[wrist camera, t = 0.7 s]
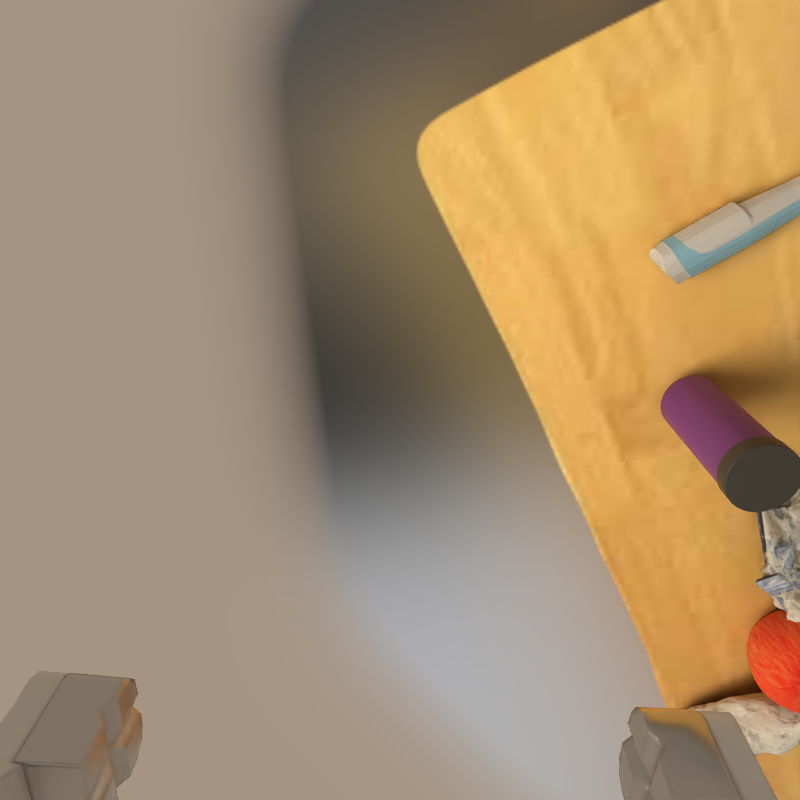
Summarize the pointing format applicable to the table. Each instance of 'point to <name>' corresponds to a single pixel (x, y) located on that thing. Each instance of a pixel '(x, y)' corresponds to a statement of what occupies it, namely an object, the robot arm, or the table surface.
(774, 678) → the apple
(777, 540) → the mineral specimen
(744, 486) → the disc
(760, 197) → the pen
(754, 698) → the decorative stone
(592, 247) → the table surface
